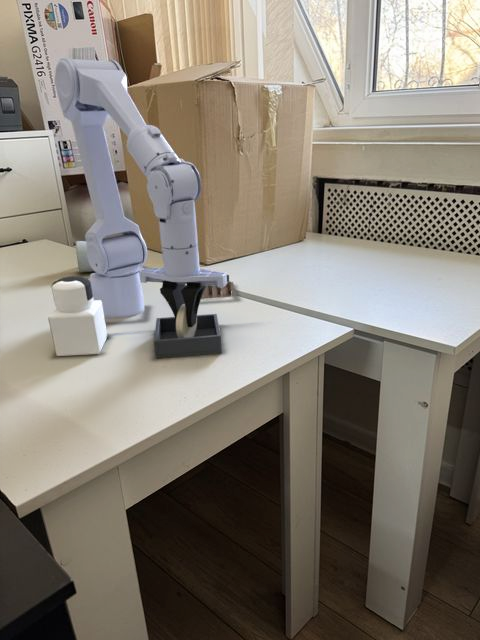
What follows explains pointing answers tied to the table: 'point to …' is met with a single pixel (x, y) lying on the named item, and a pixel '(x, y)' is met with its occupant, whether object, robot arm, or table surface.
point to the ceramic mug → (82, 257)
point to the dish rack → (219, 291)
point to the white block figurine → (76, 318)
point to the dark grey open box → (187, 338)
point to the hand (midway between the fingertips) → (187, 324)
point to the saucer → (184, 324)
